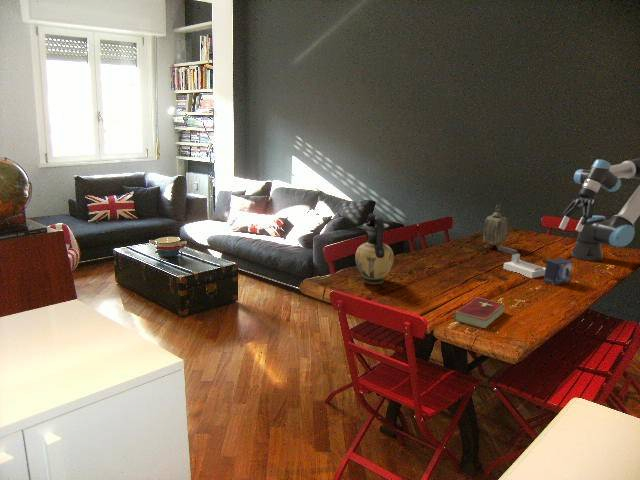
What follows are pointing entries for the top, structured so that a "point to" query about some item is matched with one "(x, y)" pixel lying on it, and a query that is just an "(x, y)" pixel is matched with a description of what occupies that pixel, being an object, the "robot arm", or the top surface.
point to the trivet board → (524, 270)
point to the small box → (558, 271)
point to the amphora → (374, 252)
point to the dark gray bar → (517, 257)
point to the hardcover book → (479, 312)
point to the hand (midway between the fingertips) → (569, 229)
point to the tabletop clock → (495, 228)
